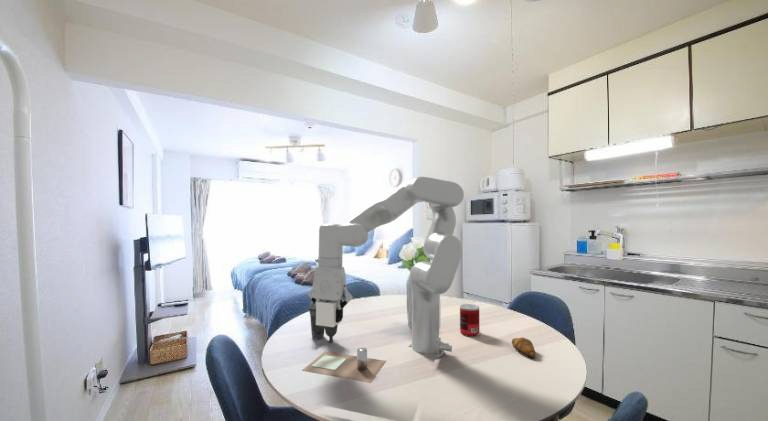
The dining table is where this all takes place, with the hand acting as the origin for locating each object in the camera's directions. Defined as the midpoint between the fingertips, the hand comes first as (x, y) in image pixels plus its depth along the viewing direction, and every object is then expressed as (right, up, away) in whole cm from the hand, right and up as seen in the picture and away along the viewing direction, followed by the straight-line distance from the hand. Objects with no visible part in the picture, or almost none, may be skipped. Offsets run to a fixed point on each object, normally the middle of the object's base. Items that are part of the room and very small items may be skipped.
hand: (329, 319), depth 96 cm
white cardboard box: (0, -1, 0) cm, 1 cm away
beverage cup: (-9, -16, +25) cm, 31 cm away
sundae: (-2, -16, +16) cm, 23 cm away
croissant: (+67, -16, +12) cm, 70 cm away
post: (+11, -13, -4) cm, 17 cm away
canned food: (+53, -17, +30) cm, 63 cm away
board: (+5, -15, -2) cm, 16 cm away
